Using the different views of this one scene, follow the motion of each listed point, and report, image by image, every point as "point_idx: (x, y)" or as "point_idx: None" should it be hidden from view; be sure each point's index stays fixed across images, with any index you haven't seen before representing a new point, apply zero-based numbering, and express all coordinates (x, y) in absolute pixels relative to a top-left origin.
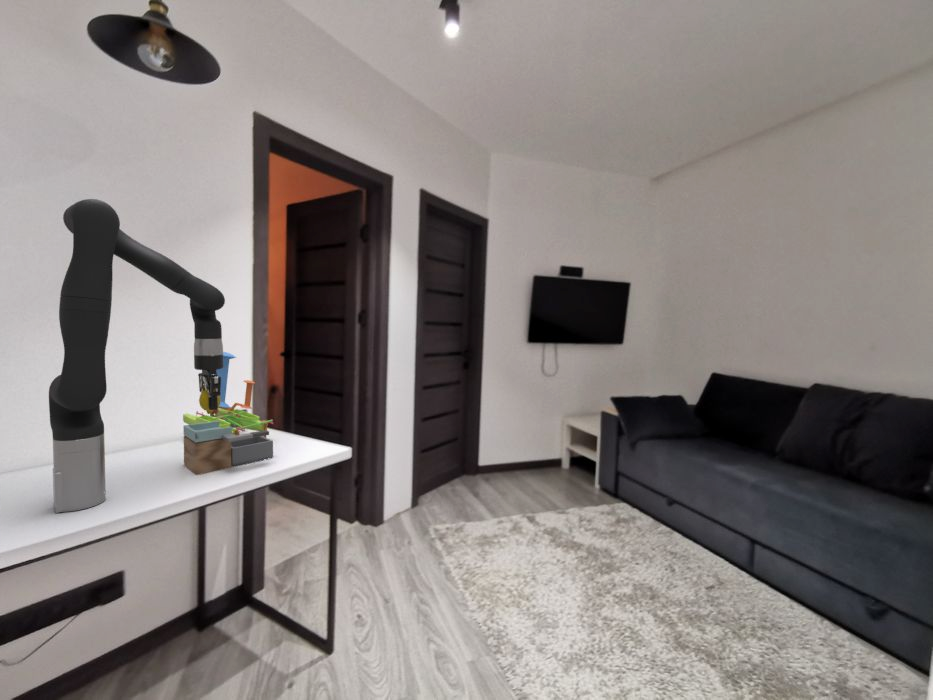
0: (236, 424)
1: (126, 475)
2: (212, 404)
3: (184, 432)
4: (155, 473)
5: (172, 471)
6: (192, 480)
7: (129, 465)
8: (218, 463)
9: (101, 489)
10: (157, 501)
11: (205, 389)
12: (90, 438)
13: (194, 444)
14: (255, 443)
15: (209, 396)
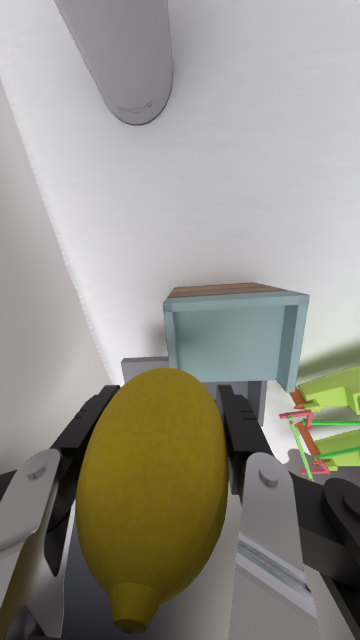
0: (347, 421)
1: (272, 174)
2: (79, 416)
3: (284, 292)
4: (240, 228)
5: (229, 258)
6: (149, 277)
7: (350, 186)
8: None
9: (103, 89)
10: (74, 210)
11: (8, 556)
12: None
13: (180, 296)
14: (251, 406)
15: (25, 463)
